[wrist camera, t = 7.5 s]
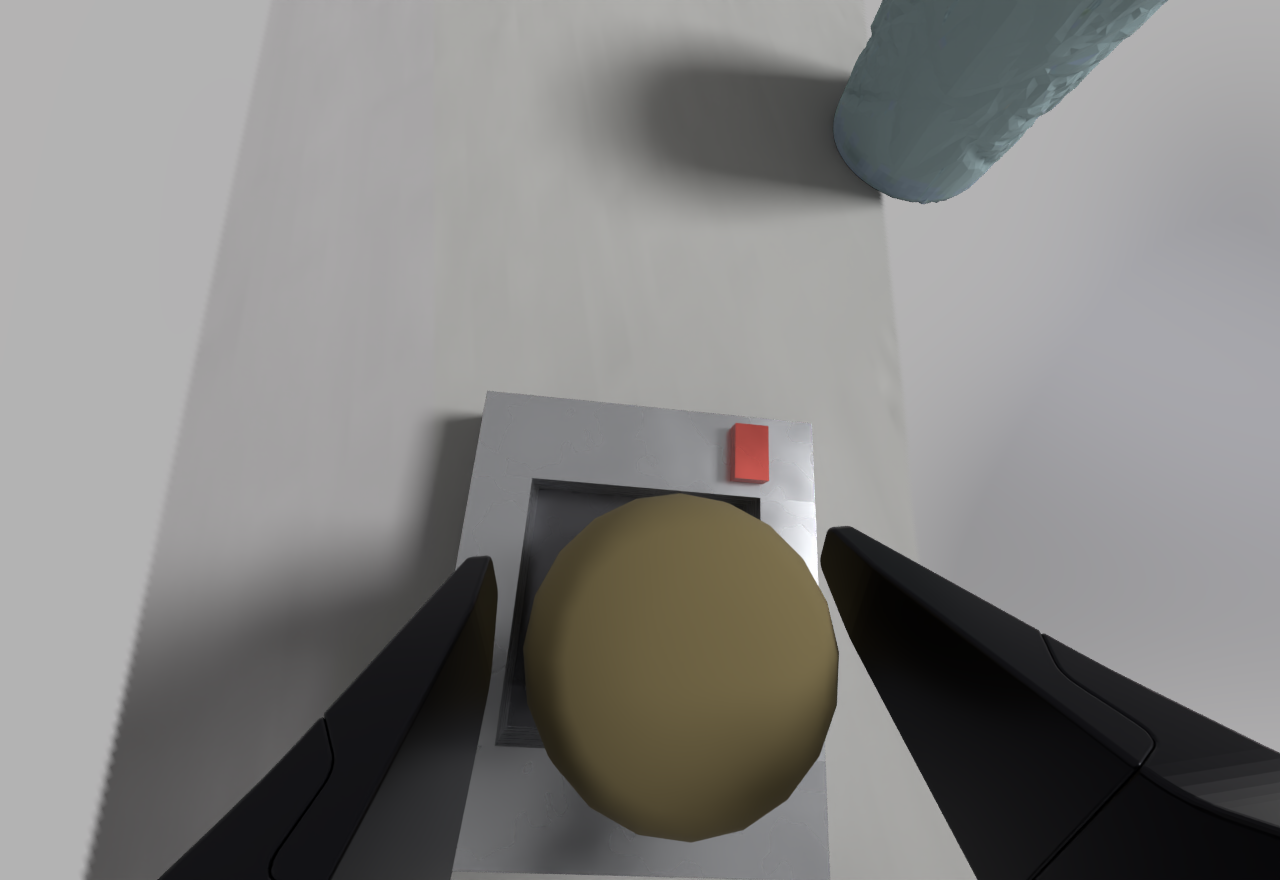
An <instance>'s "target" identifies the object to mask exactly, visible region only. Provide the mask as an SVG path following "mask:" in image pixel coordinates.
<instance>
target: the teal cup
mask: <svg viewBox="0 0 1280 880" xmlns="http://www.w3.org/2000/svg"><path fill="white" fill-rule="evenodd" d="M1167 1H1168V0H883V1H882V3H881V5H880V8H879V10H878V12H877V14H876V16H875V19H874V21H873V23H872V25H871V31H872V36H871V38H870V39H869V41H868V42H867V45H866V48H865V49H864V50H863V51H862V52H861V54H860V56H859V57H858V59H857V61H856V63H855V66H854V68H853V71H852V73H851V76H850V78H849V81H848V83H847V85H846V87H845V90H844V92H843V95H842V97H841V99H840V101H839V104H838V107H837V109H836V113H835V117H834V123H833V134H834V140H835V143H836V145H837V148H838V151H839V153H840V154H841V156H842V158H843V160H844V161H845V162H846V164H847V165H848V166H849V167H850V169H851V170H852V171H853V172H854V173H855V174H856V175H857V176H858V177H860V178H861V179H862V180H863V181H864V182H866V183H867V184H869V185H870V186H872V187H873V188H875V189H876V190H878V191H880V192H882V193H884V194H886V195H888V196H890V197H892V198H897V199H901V200H905V201H909V202H919V203H921V204H926V203H929V202H936V203H937V202H939V201H944V200H947V199H949V198H952V197H954V196H956V195H958V194H960V193H962V192H963V191H965V190H967V189H968V188H969V187H971V186H972V185H973V184H974V183H975V182H976V181H977V180H978V179H979V178H980V177H981V176H982V175H983V174H985V172H987V170H988V169H989V168H990V167H991V166H992V165H993V164H994V163H995V162H996V161H998V160H999V159H1000V158H1001V157H1002V156H1003V154H1004V153H1006V152H1007V151H1008V150H1009V149H1010V148H1011V147H1012V146H1013V145H1014V144H1015V143H1016V142H1017V141H1018V140H1019V139H1020V138H1021V137H1022V136H1023V134H1024V133H1025V131H1026V130H1027V129H1028V128H1030V127H1032V125H1033V124H1034V122H1035V120H1036V119H1037V118H1038V117H1039V116H1041V115H1043V114H1045V113H1047V112H1048V111H1050V110H1052V109H1053V108H1054V107H1055V106H1056V105H1057V104H1059V103H1060V101H1061V100H1062V99H1063V98H1064V96H1065V95H1067V94H1068V93H1069V92H1071V91H1072V90H1073V89H1075V88H1076V87H1077V86H1078V84H1079V83H1080V82H1081V81H1082V80H1083V79H1084V78H1085V77H1086V76H1087V75H1088V74H1089V72H1091V71H1092V69H1093V68H1095V67H1096V66H1097V65H1098V64H1099V62H1100V61H1101V60H1102V59H1104V58H1105V57H1107V56H1108V55H1109V54H1110V53H1111V51H1113V50H1114V48H1116V46H1118V44H1119V43H1121V42H1122V41H1123V40H1124V39H1126V38H1127V37H1129V36H1130V35H1132V34H1133V33H1134V32H1135V31H1136V30H1137V29H1138V28H1140V27H1141V26H1142V25H1143V24H1144V23H1145V22H1146V21H1147V20H1148V19H1149V18H1150V17H1151V16H1152V15H1153V14H1154V13H1155V12H1156V11H1157V10H1158V9H1159V8H1160V7H1161V6H1162V5H1163V4H1164V3H1165V2H1167Z"/></svg>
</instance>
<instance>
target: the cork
mask: <svg viewBox="0 0 1280 880" xmlns="http://www.w3.org/2000/svg"><path fill="white" fill-rule="evenodd" d="M523 654H524V667H525V681H526V695H527V704H528V707H529V709H530V712H531V714H532V717H533V720H534V722H535V725H536V727H537V730H538V732H539V735H540V737H541V740H542V742H543V745H544V747H545V750H546V752H547V755H548V757H549V758H550V760H551V762H552V763H553V764H554V766H555V767H556V768H557V769H558V770H559V772H560V773H561V774H562V775H563V776H564V777H565V779H566V780H567V781H568V782H569V783H570V785H571V786H572V787H573V788H574V789H575V791H576V792H577V793H578V794H579V795H580V796H581V798H582V799H583V800H584V801H585V802H586V804H587V805H588V806H589V807H590V808H592V809H594V810H595V811H597V812H599V813H601V814H602V815H604V816H606V817H608V818H609V819H611V820H613V821H614V822H616V823H618V824H620V825H621V826H623V827H625V828H627V829H628V830H630V831H632V832H634V833H635V834H637V835H642V836H649V837H656V838H663V839H669V840H676V841H683V842H690V843H692V842H696V841H701V840H705V839H709V838H713V837H717V836H721V835H726V834H730V833H734V832H738V831H742V830H744V829H746V828H747V827H749V826H750V825H752V824H753V823H755V822H756V821H757V820H759V819H760V818H762V817H763V816H765V815H766V814H768V813H769V812H771V811H772V810H773V809H775V808H776V807H778V806H779V805H781V804H782V803H784V802H785V801H787V800H788V799H789V797H790V796H791V794H792V793H793V792H794V790H795V789H796V788H797V786H798V785H799V784H800V782H801V781H802V779H803V778H804V777H805V775H806V774H807V773H808V771H809V770H810V768H811V767H812V766H813V764H814V763H815V762H816V760H817V759H818V758H819V756H820V753H821V750H822V747H823V744H824V741H825V738H826V735H827V732H828V729H829V727H830V724H831V721H832V718H833V715H834V712H835V709H836V706H837V686H838V661H839V651H838V646H837V642H836V638H835V634H834V629H833V625H832V621H831V617H830V612H829V608H828V604H827V601H826V599H825V597H824V596H823V594H822V592H821V590H820V588H819V587H818V585H817V583H816V581H815V579H814V578H813V576H812V574H811V572H810V570H809V568H808V567H807V565H806V563H805V561H804V559H803V558H802V557H801V556H800V555H799V554H798V553H797V552H796V551H795V550H794V549H793V548H792V547H791V546H790V545H789V544H788V543H787V542H786V541H785V540H784V539H783V538H782V537H781V536H780V535H779V534H778V533H777V532H776V531H775V530H774V529H773V528H772V527H771V526H770V525H768V524H766V523H764V522H763V521H761V520H759V519H757V518H755V517H753V516H751V515H750V514H748V513H746V512H744V511H742V510H740V509H739V508H737V507H735V506H733V505H731V504H729V503H726V502H723V501H718V500H713V499H708V498H702V497H697V496H692V495H687V494H681V493H678V494H670V495H662V496H654V497H647V498H639V499H635V500H633V501H630V502H628V503H626V504H624V505H622V506H620V507H618V508H616V509H614V510H612V511H609V512H607V513H605V514H603V515H601V516H599V517H597V518H595V519H594V520H593V521H592V522H591V523H590V524H588V525H587V526H586V527H585V528H584V529H583V530H582V531H581V532H580V533H579V534H578V535H577V536H576V537H575V538H574V539H572V540H571V541H570V542H569V543H568V544H567V545H566V546H565V547H564V548H563V549H562V550H561V551H560V552H559V554H558V556H557V557H556V559H555V561H554V563H553V564H552V566H551V568H550V570H549V572H548V573H547V575H546V577H545V579H544V580H543V582H542V584H541V586H540V587H539V589H538V591H537V593H536V594H535V597H534V602H533V606H532V611H531V615H530V619H529V624H528V628H527V633H526V637H525V642H524V646H523Z"/></svg>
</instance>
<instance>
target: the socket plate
mask: <svg viewBox="0 0 1280 880" xmlns="http://www.w3.org/2000/svg"><path fill="white" fill-rule="evenodd" d="M678 493H681V494H687V495H692V496H697V497H702V498H708V499H713V500H718V501H723V502H726V503H729V504H731V505H733V506H735V507H737V508H739V509H740V510H742V511H744V512H746V513H748V514H750V515H751V516H753V517H755V518H757V519H759V520H761V521H763V522H764V523H766V524H768V525H770V526H771V527H772V528H773V529H774V530H775V531H776V532H777V533H778V534H779V535H780V536H781V537H782V538H783V539H784V540H785V541H786V542H787V543H788V544H789V545H790V546H791V547H792V548H793V549H794V550H795V551H796V552H797V553H798V554H799V555H800V556H801V557H802V558H803V559H804V561H805V563H806V565H807V567H808V568H809V570H810V572H811V574H812V576H813V578H814V579H815V581H816V583H817V585H818V564H817V539H816V514H815V489H814V464H813V439H812V423H804V422H794V421H784V420H774V419H764V418H754V417H744V416H734V415H724V414H714V413H704V412H694V411H684V410H674V409H664V408H654V407H644V406H634V405H624V404H614V403H604V402H594V401H584V400H574V399H564V398H554V397H544V396H534V395H524V394H514V393H504V392H494V391H487V394H486V400H485V405H484V411H483V417H482V422H481V428H480V433H479V439H478V445H477V450H476V456H475V462H474V467H473V473H472V478H471V484H470V490H469V495H468V501H467V506H466V512H465V518H464V523H463V529H462V535H461V540H460V546H459V551H458V557H457V563H456V568H455V570H456V569H457V568H458V567H459V566H460V565H461V564H462V563H463V562H464V561H465V560H466V559H467V558H469V557H473V556H485V555H488V556H490V557H491V558H492V561H493V566H494V571H495V577H496V582H497V587H498V604H497V616H496V628H495V640H494V651H493V663H492V672H491V680H490V686H489V692H488V697H487V702H486V707H485V711H484V716H483V721H482V726H481V731H480V736H479V741H478V746H477V751H476V756H475V761H474V766H473V771H472V775H471V780H470V785H469V790H468V795H467V800H466V805H465V810H464V815H463V820H462V825H461V830H460V835H459V839H458V844H457V849H456V854H455V859H454V864H453V869H452V871H465V872H502V873H538V874H575V875H612V876H649V877H685V878H722V879H759V880H830V864H829V839H828V814H827V789H826V764H825V741H824V744H823V747H822V750H821V753H820V756H819V758H818V759H817V760H816V762H815V763H814V764H813V766H812V767H811V768H810V770H809V771H808V773H807V774H806V775H805V777H804V778H803V779H802V781H801V782H800V784H799V785H798V786H797V788H796V789H795V790H794V792H793V793H792V794H791V796H790V797H789V799H788V800H787V801H785V802H784V803H782V804H781V805H779V806H778V807H776V808H775V809H773V810H772V811H771V812H769V813H768V814H766V815H765V816H763V817H762V818H760V819H759V820H757V821H756V822H755V823H753V824H752V825H750V826H749V827H747V828H746V829H744V830H742V831H738V832H734V833H730V834H726V835H721V836H717V837H713V838H709V839H705V840H701V841H696V842H692V843H690V842H683V841H676V840H669V839H663V838H656V837H649V836H642V835H637V834H635V833H634V832H632V831H630V830H628V829H627V828H625V827H623V826H621V825H620V824H618V823H616V822H614V821H613V820H611V819H609V818H608V817H606V816H604V815H602V814H601V813H599V812H597V811H595V810H594V809H592V808H590V807H589V806H588V805H587V804H586V802H585V801H584V800H583V799H582V798H581V796H580V795H579V794H578V793H577V792H576V791H575V789H574V788H573V787H572V786H571V785H570V783H569V782H568V781H567V780H566V779H565V777H564V776H563V775H562V774H561V773H560V772H559V770H558V769H557V768H556V767H555V766H554V764H553V763H552V762H551V760H550V758H549V757H548V755H547V752H546V750H545V747H544V745H543V742H542V740H541V737H540V735H539V732H538V730H537V727H536V725H535V722H534V720H533V717H532V714H531V712H530V709H529V707H528V704H527V695H526V681H525V667H524V654H523V646H524V642H525V637H526V633H527V628H528V624H529V619H530V615H531V611H532V606H533V602H534V597H535V594H536V593H537V591H538V589H539V587H540V586H541V584H542V582H543V580H544V579H545V577H546V575H547V573H548V572H549V570H550V568H551V566H552V564H553V563H554V561H555V559H556V557H557V556H558V554H559V552H560V551H561V550H562V549H563V548H564V547H565V546H566V545H567V544H568V543H569V542H570V541H571V540H572V539H574V538H575V537H576V536H577V535H578V534H579V533H580V532H581V531H582V530H583V529H584V528H585V527H586V526H587V525H588V524H590V523H591V522H592V521H593V520H594V519H595V518H597V517H599V516H601V515H603V514H605V513H607V512H609V511H612V510H614V509H616V508H618V507H620V506H622V505H624V504H626V503H628V502H630V501H633V500H635V499H639V498H647V497H654V496H662V495H670V494H678Z"/></svg>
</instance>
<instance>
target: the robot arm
mask: <svg viewBox="0 0 1280 880" xmlns="http://www.w3.org/2000/svg"><path fill="white" fill-rule="evenodd" d="M820 562H821V568H822V571H823V574H824V576H825V579H826V581H827V584H828V586H829V588H830V591H831V593H832V596H833V598H834V601H835V603H836V606H837V608H838V611H839V613H840V616H841V618H842V621H843V623H844V626H845V628H846V630H847V632H848V635H849V637H850V639H851V641H852V643H853V645H854V647H855V649H856V651H857V653H858V655H859V657H860V659H861V660H862V662H863V664H864V666H865V668H866V670H867V672H868V674H869V676H870V677H871V679H872V681H873V683H874V685H875V687H876V689H877V691H878V693H879V695H880V696H881V698H882V700H883V702H884V704H885V706H886V708H887V710H888V712H889V713H890V715H891V717H892V719H893V721H894V723H895V725H896V727H897V729H898V730H899V732H900V734H901V736H902V738H903V740H904V742H905V744H906V746H907V747H908V749H909V751H910V753H911V755H912V757H913V759H914V761H915V763H916V764H917V766H918V768H919V770H920V772H921V774H922V776H923V778H924V780H925V781H926V783H927V785H928V787H929V789H930V791H931V793H932V795H933V797H934V799H935V800H936V802H937V804H938V806H939V808H940V810H941V812H942V814H943V816H944V817H945V819H946V821H947V823H948V825H949V827H950V829H951V831H952V833H953V834H954V836H955V838H956V840H957V842H958V844H959V846H960V848H961V850H962V851H963V853H964V855H965V857H966V859H967V861H968V863H969V865H970V867H971V868H972V870H973V872H974V874H975V876H976V878H977V880H1280V753H1279V752H1277V751H1274V750H1272V749H1270V748H1268V747H1266V746H1264V745H1262V744H1260V743H1258V742H1256V741H1254V740H1252V739H1250V738H1248V737H1246V736H1244V735H1241V734H1239V733H1237V732H1236V731H1234V730H1232V729H1229V728H1227V727H1225V726H1223V725H1221V724H1219V723H1217V722H1215V721H1213V720H1211V719H1209V718H1207V717H1205V716H1203V715H1201V714H1199V713H1197V712H1195V711H1193V710H1191V709H1189V708H1187V707H1185V706H1183V705H1181V704H1179V703H1177V702H1175V701H1173V700H1171V699H1169V698H1166V697H1164V696H1163V695H1161V694H1158V693H1156V692H1154V691H1152V690H1151V689H1149V688H1146V687H1145V686H1143V685H1141V684H1139V683H1137V682H1134V681H1133V680H1131V679H1129V678H1127V677H1125V676H1123V675H1121V674H1119V673H1117V672H1115V671H1113V670H1111V669H1109V668H1107V667H1105V666H1103V665H1101V664H1099V663H1098V662H1096V661H1094V660H1092V659H1090V658H1088V657H1086V656H1085V655H1083V654H1081V653H1078V652H1077V651H1075V650H1073V649H1072V648H1070V647H1068V646H1066V645H1064V644H1063V643H1061V642H1059V641H1057V640H1055V639H1054V638H1052V637H1050V636H1048V635H1046V634H1041V633H1040V631H1039V630H1037V629H1035V628H1034V627H1032V626H1030V625H1028V624H1026V623H1024V622H1023V621H1021V620H1019V619H1017V618H1015V617H1014V616H1012V615H1010V614H1008V613H1006V612H1005V611H1003V610H1001V609H999V608H997V607H996V606H994V605H992V604H990V603H988V602H986V601H985V600H983V599H981V598H979V597H977V596H976V595H974V594H972V593H970V592H968V591H967V590H965V589H963V588H961V587H959V586H958V585H956V584H954V583H952V582H950V581H948V580H947V579H945V578H943V577H941V576H939V575H938V574H936V573H934V572H932V571H930V570H929V569H927V568H925V567H923V566H921V565H920V564H918V563H916V562H914V561H912V560H911V559H909V558H907V557H905V556H903V555H902V554H900V553H898V552H896V551H894V550H892V549H891V548H889V547H887V546H885V545H883V544H882V543H880V542H878V541H876V540H874V539H873V538H871V537H869V536H867V535H865V534H864V533H862V532H860V531H858V530H856V529H854V528H853V527H850V526H840V527H832V528H830V529H829V530H828V531H827V534H826V538H825V542H824V546H823V550H822V554H821V559H820ZM497 604H498V587H497V582H496V577H495V571H494V566H493V561H492V558H491V557H490V556H488V555H485V556H473V557H469V558H467V559H466V560H465V561H464V562H463V563H462V564H461V565H460V566H459V567H458V568H457V569H456V570H455V572H454V573H453V574H452V575H451V576H450V577H449V578H448V579H447V580H446V581H445V582H444V584H443V585H442V586H441V587H440V588H439V589H438V590H437V591H436V592H435V593H434V594H433V596H432V597H431V598H430V599H429V600H428V601H427V602H426V603H425V604H424V605H423V606H422V608H421V609H420V610H419V611H418V612H417V613H416V614H415V615H414V616H413V617H412V618H411V619H410V621H409V622H408V623H407V624H406V625H405V626H404V627H403V628H402V629H401V630H400V631H399V633H398V634H397V635H396V636H395V637H394V638H393V639H392V640H391V641H390V642H389V643H388V645H387V646H386V647H385V648H384V649H383V650H382V651H381V652H380V653H379V654H378V655H377V657H376V658H375V659H374V660H373V661H372V662H371V663H370V664H369V665H368V666H367V667H366V668H365V670H364V671H363V672H362V673H361V674H360V675H359V676H358V677H357V678H356V679H355V680H354V682H353V683H352V684H351V685H350V686H349V687H348V688H347V689H346V690H345V691H344V692H343V694H342V695H341V696H340V697H339V698H338V699H337V700H336V701H335V702H334V703H333V704H332V706H331V707H330V708H329V709H328V710H327V711H326V712H325V714H324V718H325V719H324V718H320V719H318V720H317V722H316V723H315V724H314V725H313V726H312V727H311V728H310V729H309V730H308V731H307V732H306V734H305V735H304V736H303V737H302V738H301V739H300V740H299V741H298V742H297V743H296V744H295V745H294V746H293V747H292V748H291V750H290V751H289V752H288V753H287V754H286V755H285V756H284V757H283V758H282V759H281V760H280V761H279V762H278V763H277V764H276V765H275V766H274V767H273V768H272V769H271V770H270V772H269V773H268V774H267V775H266V776H265V777H264V778H263V779H262V780H261V781H260V782H259V783H258V784H257V785H256V786H255V787H254V788H253V789H252V790H251V791H250V792H248V793H247V794H246V795H245V796H244V797H243V798H242V799H241V800H240V801H239V802H238V803H237V804H236V805H235V806H234V807H233V808H232V809H231V810H230V811H229V812H228V813H227V814H226V815H225V816H224V817H223V818H222V819H221V820H220V821H219V822H218V823H217V824H216V825H215V826H214V827H213V828H211V829H210V830H209V831H208V832H207V833H206V834H205V835H204V836H203V837H202V838H201V839H200V840H199V841H198V842H197V843H196V844H195V845H194V846H193V847H191V848H190V849H189V850H188V851H187V852H186V853H185V854H184V855H183V856H182V857H181V858H180V859H179V860H178V861H177V862H176V863H175V864H174V865H173V866H171V867H170V868H169V869H168V870H167V871H166V872H165V873H164V874H163V875H162V876H161V877H160V878H159V879H158V880H450V879H451V874H452V869H453V864H454V859H455V854H456V849H457V844H458V839H459V835H460V830H461V825H462V820H463V815H464V810H465V805H466V800H467V795H468V790H469V785H470V780H471V775H472V771H473V766H474V761H475V756H476V751H477V746H478V741H479V736H480V731H481V726H482V721H483V716H484V711H485V707H486V702H487V697H488V692H489V686H490V680H491V672H492V663H493V651H494V640H495V628H496V616H497Z"/></svg>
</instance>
